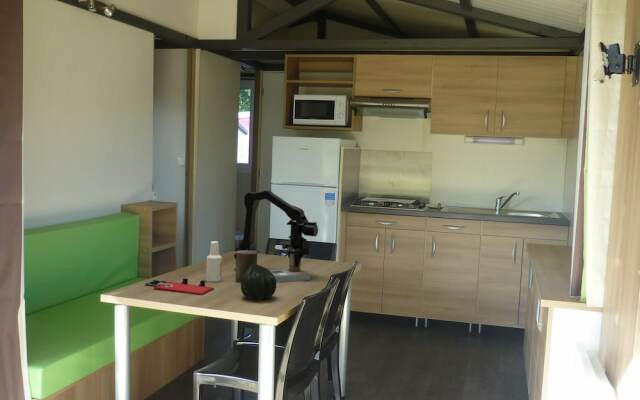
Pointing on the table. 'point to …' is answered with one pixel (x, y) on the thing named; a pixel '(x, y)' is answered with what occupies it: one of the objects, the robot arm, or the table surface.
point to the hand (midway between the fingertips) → (294, 266)
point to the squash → (258, 283)
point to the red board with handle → (181, 287)
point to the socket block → (290, 275)
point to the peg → (293, 265)
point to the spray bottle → (214, 263)
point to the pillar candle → (244, 262)
